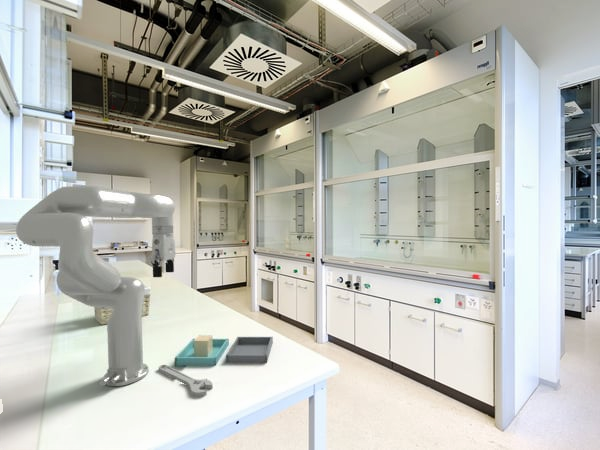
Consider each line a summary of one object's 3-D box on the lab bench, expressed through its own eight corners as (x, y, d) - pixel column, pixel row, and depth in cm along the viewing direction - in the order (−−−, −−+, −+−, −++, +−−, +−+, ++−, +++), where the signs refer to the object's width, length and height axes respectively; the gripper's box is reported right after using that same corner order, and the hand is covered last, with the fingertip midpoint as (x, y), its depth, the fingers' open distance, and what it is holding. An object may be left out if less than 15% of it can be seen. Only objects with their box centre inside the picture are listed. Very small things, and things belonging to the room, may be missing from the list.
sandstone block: (207, 357, 107) (207, 340, 106) (194, 357, 107) (193, 340, 107) (212, 351, 112) (212, 335, 111) (199, 351, 112) (199, 335, 112)
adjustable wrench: (156, 371, 99) (156, 366, 99) (175, 364, 104) (175, 359, 104) (197, 400, 83) (197, 393, 83) (217, 389, 88) (217, 383, 88)
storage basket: (143, 308, 168) (142, 282, 167) (153, 315, 156) (152, 287, 156) (91, 319, 151) (90, 290, 150) (98, 327, 139) (98, 296, 139)
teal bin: (215, 366, 101) (215, 358, 101) (174, 366, 101) (174, 358, 101) (228, 346, 117) (228, 338, 117) (193, 346, 117) (193, 338, 117)
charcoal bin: (267, 364, 102) (266, 355, 102) (226, 364, 103) (226, 355, 103) (272, 344, 118) (272, 336, 118) (237, 344, 119) (237, 336, 119)
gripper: (161, 231, 108) (162, 279, 108) (181, 229, 125) (182, 270, 126) (140, 232, 108) (142, 279, 108) (164, 229, 125) (165, 270, 126)
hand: (163, 274), depth 117 cm, fingers open, 9 cm apart
